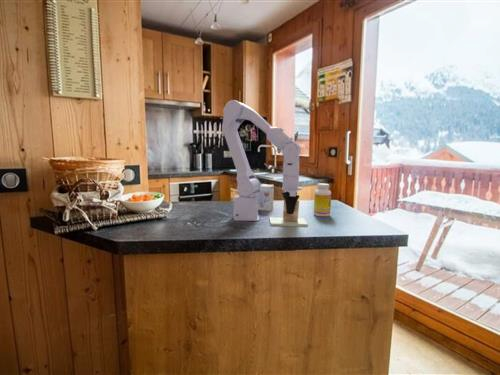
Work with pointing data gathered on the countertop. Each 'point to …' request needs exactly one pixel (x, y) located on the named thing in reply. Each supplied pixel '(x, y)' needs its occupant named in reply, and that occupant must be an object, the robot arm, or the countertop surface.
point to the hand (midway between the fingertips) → (289, 212)
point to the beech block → (291, 216)
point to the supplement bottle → (322, 200)
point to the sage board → (287, 222)
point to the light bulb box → (265, 197)
